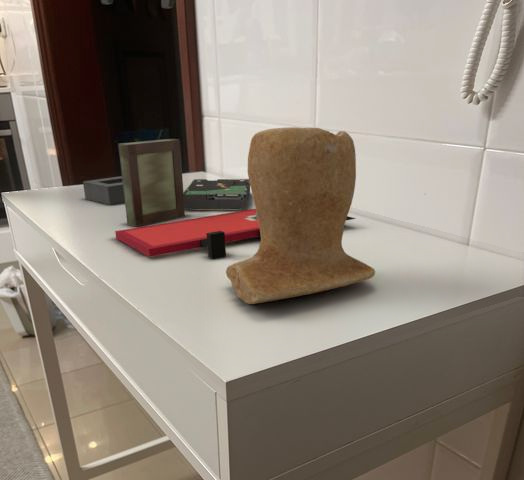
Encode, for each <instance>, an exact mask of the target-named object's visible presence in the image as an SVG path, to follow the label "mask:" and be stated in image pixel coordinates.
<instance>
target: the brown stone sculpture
mask: <svg viewBox="0 0 524 480" xmlns="http://www.w3.org/2000/svg"><path fill="white" fill-rule="evenodd" d="M356 157H357V154H356V146H355V143H354V140H353V138H352V136H351V135H350V134H349V133H348V132H347V131H346V130H345V131H344V130H340V131H338V132H337V133H336V134H335V133H333V132H330V131H329V130H326V129H323V128H321V127H299V126H298V127H294V126H293V127H275V128H269V129H263V130H260V131H258V132H256V133H255V134H253V136H252V137H251V139H250V144H249V148H248V155H247V176H248V177H247V178H248V179H249V183H250V191H251V194H252V198H253V202H254V203H253V204H254V209H256V212H257V218H258V223H259V228H260V235H261V236H260V241H259V242H260V243H259V247H258V249H257V252H255V253H254V254H253V255H252V256H251V257H249V258H247V259H243V260H240V261H239V262H234V263H232V264H229V265H228V266H227V267H226V270H225V274H226V277H227V278H228V280H230V283H231V287H232V289H234V292H235V293H236V295H237V297H238V298H239V299H240V300H242V302H244V303H245V304H247V305H255V304H261V303H268V302H273V301H278V300H286V299H290V298H296V297H300V296H305V295H306V296H307V295H312V294H315V293H320V292H324V291H329V290H334V289H337V288H343V287H347V286H350V285H353V284H356V283H361V282H364V281H367V280H370V279H371V278H373V277H375V273H376V270H375V268H374V267H371V266H370V265H368V264H367V263H365V262H363V261H361V260H359V259H357V258H354V257H352V256H350V255H349V254H347V253H346V252H345V250H344V248H343V245H342V244H343V243H342V241H343V235H344V230H345V225H346V222H347V220H346V218H347V216H348V215H349V212H350V210H351V207H352V203H353V199H354V195H355V194H354V193H355V189H356V181H357V158H356Z"/></svg>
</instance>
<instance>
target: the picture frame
mask: <svg viewBox="0 0 524 480" xmlns="http://www.w3.org/2000/svg"><path fill="white" fill-rule="evenodd" d="M117 144H118V145H117V147H118V154H119V163H120V170H121V171H120V172H121V176H122V181H123V190H124V199H125V202H124V206H125V217H126V225H128V226H132V227H134V228H138V227H143V226H148V225H152V224H155V223H160V222H165V221H169V220H175V219H179V218H183V217H186V209H185V208H184V194H183V193H184V181H183V164H182V151H181V150H182V149H181V139H176V138H165V139H164V138H163V139H155V140H154V139H153V140H144V141H134V142H123V143H121V142H120V143H117Z"/></svg>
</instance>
